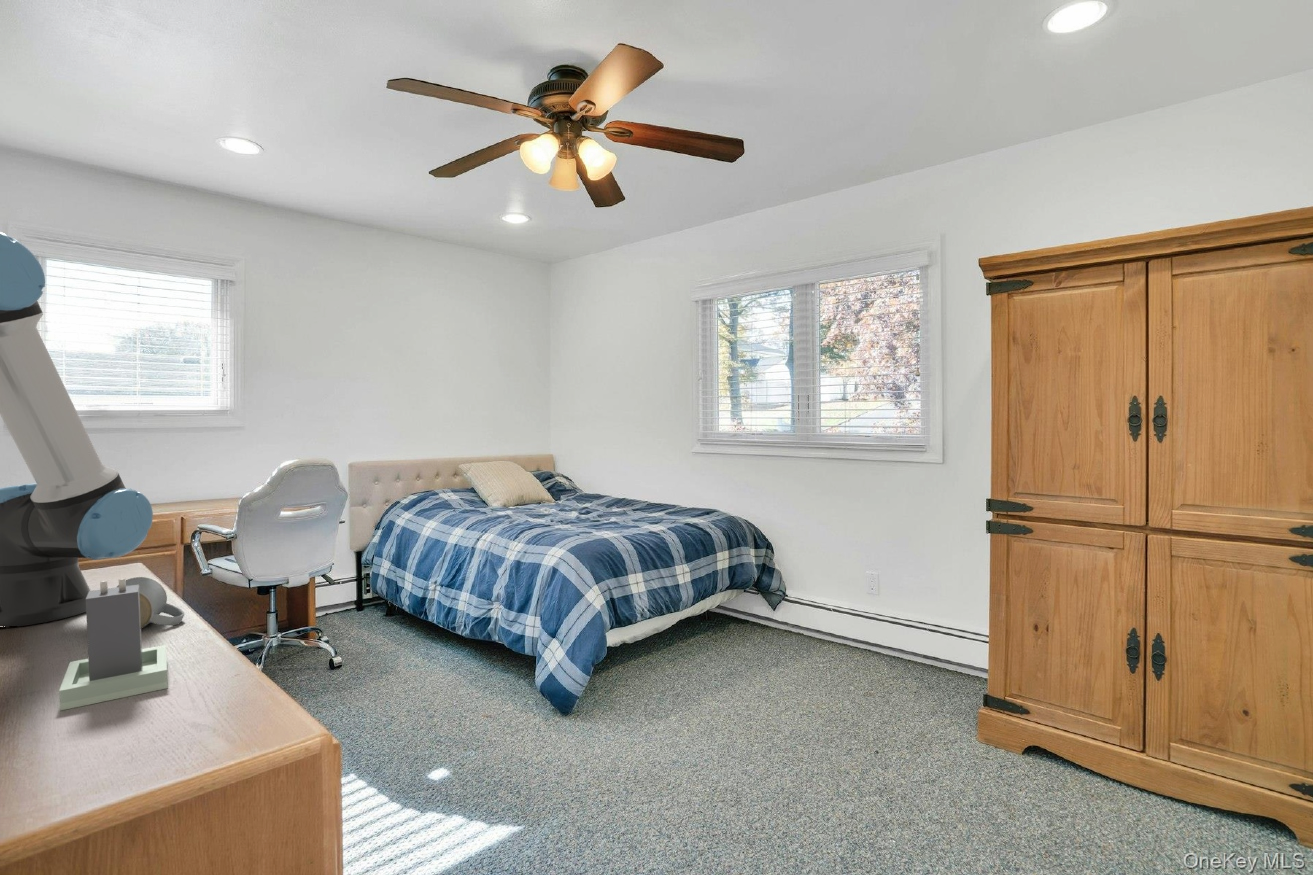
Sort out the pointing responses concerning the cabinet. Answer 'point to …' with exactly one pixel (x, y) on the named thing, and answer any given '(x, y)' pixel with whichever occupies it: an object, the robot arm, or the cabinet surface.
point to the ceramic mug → (154, 603)
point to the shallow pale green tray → (113, 681)
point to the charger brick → (113, 631)
